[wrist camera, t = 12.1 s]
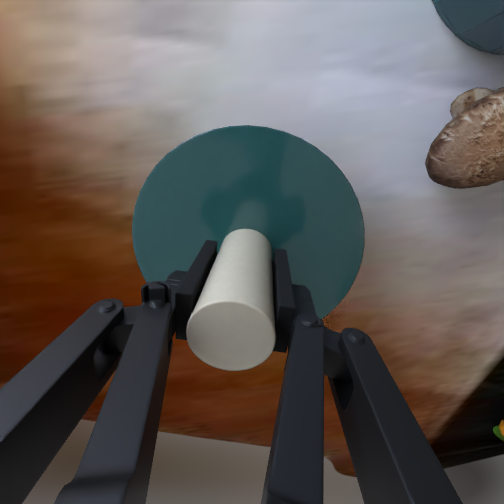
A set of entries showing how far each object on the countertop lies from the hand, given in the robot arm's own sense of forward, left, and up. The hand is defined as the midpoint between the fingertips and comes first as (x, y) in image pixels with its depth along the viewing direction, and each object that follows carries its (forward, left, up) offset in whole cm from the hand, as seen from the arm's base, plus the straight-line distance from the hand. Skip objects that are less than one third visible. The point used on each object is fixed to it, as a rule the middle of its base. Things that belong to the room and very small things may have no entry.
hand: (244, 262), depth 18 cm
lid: (0, 0, -2) cm, 2 cm away
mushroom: (-10, +17, -8) cm, 21 cm away
